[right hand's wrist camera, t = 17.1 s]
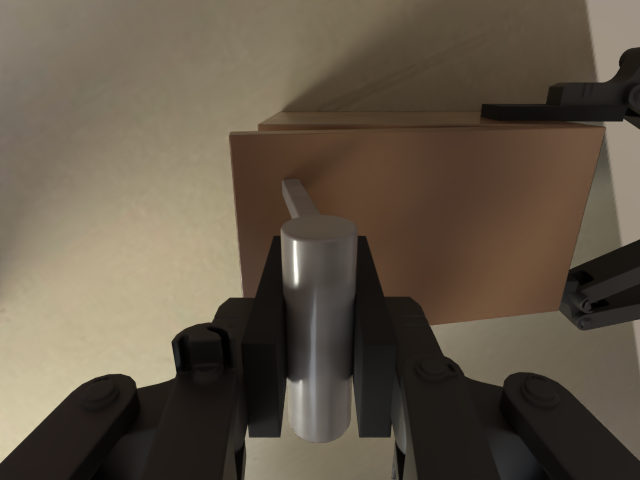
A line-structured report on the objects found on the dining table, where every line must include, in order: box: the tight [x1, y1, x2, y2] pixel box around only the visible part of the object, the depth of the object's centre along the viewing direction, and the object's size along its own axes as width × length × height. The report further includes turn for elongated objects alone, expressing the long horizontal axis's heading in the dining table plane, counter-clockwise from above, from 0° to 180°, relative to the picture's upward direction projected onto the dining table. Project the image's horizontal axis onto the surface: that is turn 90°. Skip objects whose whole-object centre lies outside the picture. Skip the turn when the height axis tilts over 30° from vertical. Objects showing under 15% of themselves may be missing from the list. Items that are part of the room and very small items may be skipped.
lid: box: [229, 125, 606, 443], centre depth 15 cm, size 17×10×8 cm, turn 90°
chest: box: [258, 112, 584, 131], centre depth 25 cm, size 16×10×10 cm, turn 90°
